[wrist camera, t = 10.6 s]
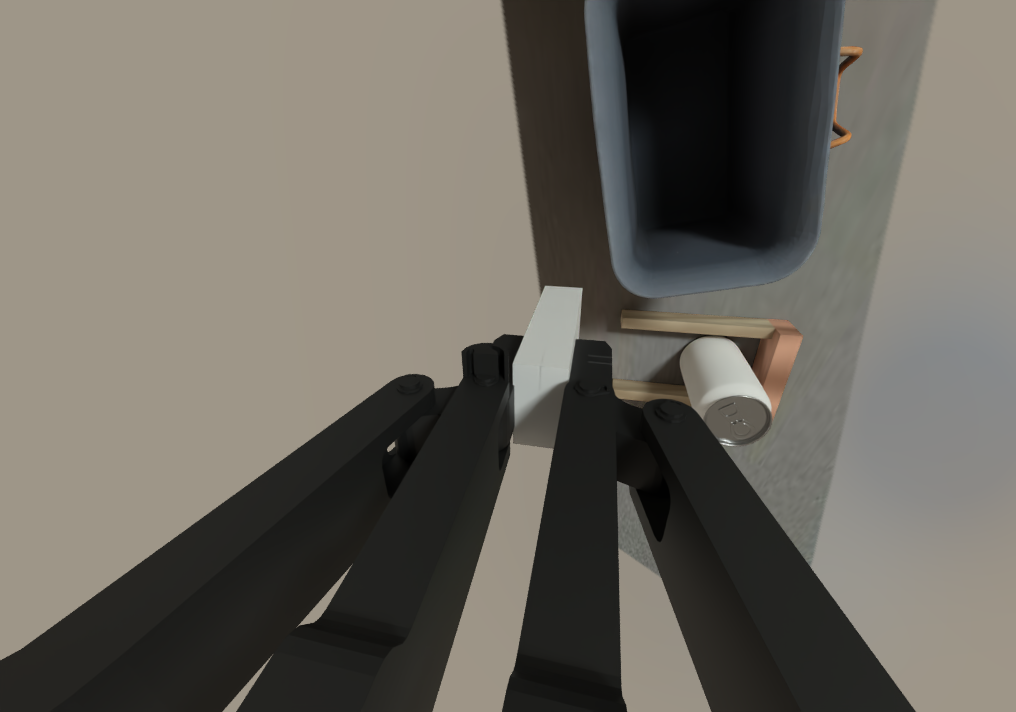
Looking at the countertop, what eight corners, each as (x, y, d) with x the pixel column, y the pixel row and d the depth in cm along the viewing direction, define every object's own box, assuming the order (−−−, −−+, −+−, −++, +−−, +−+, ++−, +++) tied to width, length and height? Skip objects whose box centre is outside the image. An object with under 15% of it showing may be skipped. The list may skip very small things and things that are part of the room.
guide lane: (622, 309, 46) (623, 323, 43) (787, 320, 43) (803, 336, 40) (612, 386, 51) (612, 404, 48) (760, 401, 48) (771, 422, 45)
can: (695, 391, 49) (719, 460, 39) (668, 351, 48) (684, 411, 37) (750, 366, 46) (791, 433, 36) (722, 323, 45) (757, 379, 34)
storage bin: (586, 11, 35) (572, -54, 23) (797, -61, 30) (922, -192, 18) (614, 256, 44) (614, 304, 32) (780, 229, 39) (855, 273, 27)
